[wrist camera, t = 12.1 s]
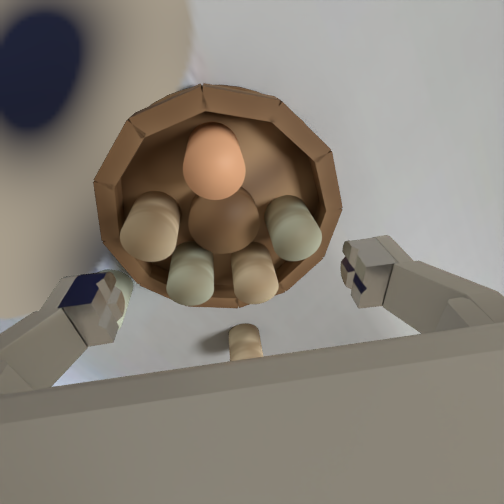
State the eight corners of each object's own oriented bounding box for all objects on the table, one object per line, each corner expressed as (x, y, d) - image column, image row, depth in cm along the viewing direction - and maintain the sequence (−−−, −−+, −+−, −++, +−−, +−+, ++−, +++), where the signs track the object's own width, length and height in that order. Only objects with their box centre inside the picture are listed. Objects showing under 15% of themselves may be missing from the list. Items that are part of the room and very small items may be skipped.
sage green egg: (140, 280, 30) (129, 316, 26) (123, 302, 32) (110, 339, 28) (102, 263, 29) (85, 299, 25) (86, 288, 30) (67, 325, 26)
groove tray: (370, 188, 27) (402, 216, 23) (240, 312, 35) (244, 350, 30) (190, 11, 18) (184, -1, 14) (68, 229, 26) (39, 267, 22)
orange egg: (235, 118, 21) (242, 135, 17) (241, 170, 24) (248, 195, 20) (182, 124, 21) (175, 143, 17) (193, 176, 24) (190, 203, 19)
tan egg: (265, 330, 38) (271, 364, 34) (245, 346, 39) (250, 381, 35) (241, 319, 36) (245, 354, 32) (222, 337, 37) (223, 372, 33)
